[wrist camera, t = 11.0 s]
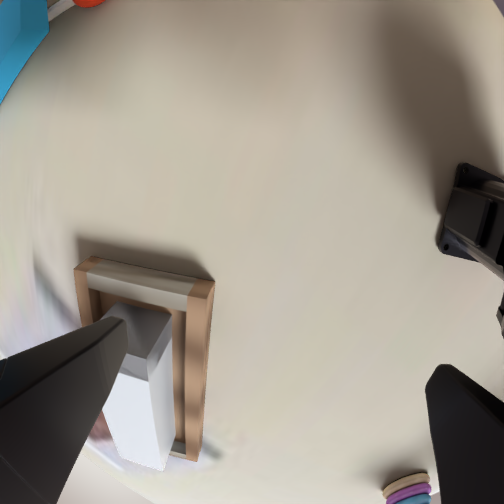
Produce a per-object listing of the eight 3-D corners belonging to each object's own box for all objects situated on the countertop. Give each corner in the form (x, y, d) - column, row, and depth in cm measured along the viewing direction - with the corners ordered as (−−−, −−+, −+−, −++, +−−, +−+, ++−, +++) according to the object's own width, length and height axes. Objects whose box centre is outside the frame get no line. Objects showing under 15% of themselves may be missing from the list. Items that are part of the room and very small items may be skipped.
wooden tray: (91, 256, 20) (73, 268, 18) (215, 281, 20) (207, 299, 18) (120, 421, 28) (113, 436, 26) (201, 445, 28) (197, 462, 25)
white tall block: (175, 434, 26) (163, 471, 21) (136, 423, 26) (120, 457, 21) (172, 314, 20) (146, 359, 15) (117, 301, 20) (83, 338, 16)
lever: (22, 120, 21) (131, 6, 13) (-32, 134, 15) (51, -10, 7) (14, 71, 19) (117, -44, 11) (-36, 80, 13) (50, -63, 5)
